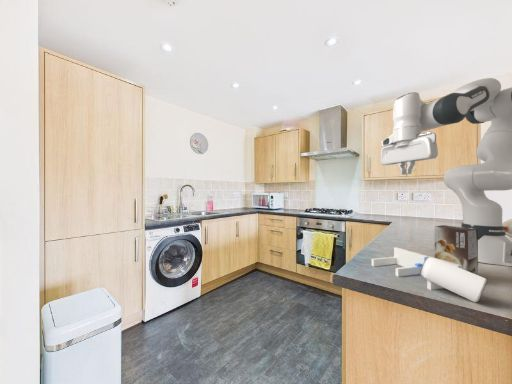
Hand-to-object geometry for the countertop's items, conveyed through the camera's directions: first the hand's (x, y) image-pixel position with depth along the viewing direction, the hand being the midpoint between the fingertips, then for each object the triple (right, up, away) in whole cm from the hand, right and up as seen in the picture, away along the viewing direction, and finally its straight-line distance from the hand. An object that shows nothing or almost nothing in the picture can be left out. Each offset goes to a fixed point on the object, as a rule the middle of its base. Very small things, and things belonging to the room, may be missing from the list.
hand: (406, 174), depth 80 cm
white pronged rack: (-5, -34, -10) cm, 36 cm away
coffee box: (+8, -34, -11) cm, 37 cm away
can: (-1, -31, -28) cm, 42 cm away
